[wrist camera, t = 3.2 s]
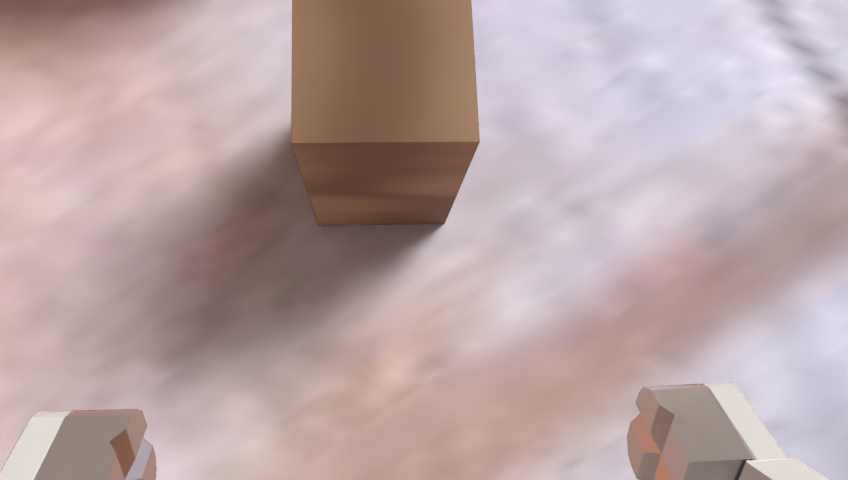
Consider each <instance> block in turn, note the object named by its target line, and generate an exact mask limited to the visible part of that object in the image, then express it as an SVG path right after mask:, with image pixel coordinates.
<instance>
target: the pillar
mask: <svg viewBox="0 0 848 480" xmlns="http://www.w3.org/2000/svg"><path fill="white" fill-rule="evenodd" d="M479 142H480V138H479V122H478V105H477V89H476V72H475V55H474V39H473V22H472V6H471V0H292V117H291V144H292V147H293V150H294V153H295V156H296V159H297V162H298V165H299V168H300V171H301V174H302V177H303V180H304V183H305V186H306V189H307V192H308V195H309V198H310V201H311V204H312V208H313V211H314V214H315V217H316V220H317V223H318V226H337V225H393V224H445V221H446V219H447V217H448V214H449V212H450V210H451V207H452V205H453V203H454V200H455V198H456V196H457V193H458V191H459V189H460V186H461V184H462V182H463V179H464V177H465V175H466V172H467V170H468V168H469V165H470V163H471V161H472V158H473V156H474V154H475V151H476V149H477V147H478V144H479Z"/></svg>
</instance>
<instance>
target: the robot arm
mask: <svg viewBox="0 0 848 480" xmlns="http://www.w3.org/2000/svg"><path fill="white" fill-rule="evenodd" d="M636 405H637V407H638V409H639V411H640V414H639V415H638V416H637V417H636V418H635V419H634V420H632V421H631V422H630V427H629V431H628V435H627V442H628V454H629V458H630V462H631V466H632V468H633V471H634V473H635V476H636V478H637V479H638V480H830V479H828V478H827V477H825V476H823V475H822V474H820V473H819V472H817V471H815V470H814V469H812V468H811V467H809V466H808V465H806V464H804V463H803V462H801V461H800V460H798V459H797V458H787V457H786V456H785V454H784V453H783V452H782V450H781V449H780V447H779V446H778V444H777V443H776V441H775V440H774V439H773V437H772V436H771V434H770V433H769V431H768V430H767V428H766V427H765V426H764V424H763V423H762V421H761V420H760V418H759V417H758V415H757V414H756V413H755V411H754V410H753V408H752V407H751V405H750V404H749V402H748V401H747V400H746V398H745V397H744V395H743V394H742V392H741V391H740V389H739V388H738V387H737V386H736V385H734V384H733V383H731V382H724V383H705V384H685V385H667V386H648V387H643V388H642V389H641V391H640V392H639V394H638V397H637V401H636ZM146 427H147V424H146V421H145V418H144V415H143V412H142V411H141V410H138V409H122V410H73V411H49V412H38V413H37V414H36V415H34V416H33V417H32V418H31V419H30V420H29V421H28V423H27V425H26V427H25V429H24V430H23V432H22V434H21V436H20V437H19V439H18V441H17V443H16V445H15V446H14V448H13V450H12V452H11V453H10V455H9V457H8V459H7V461H6V462H5V464H4V466H3V468H2V469H1V471H0V480H155V479H156V470H157V469H156V456H155V452H154V448H153V445H152V444H150V443H149V442H148V441H146V440H145V439H144V438H143V436H144V433H145V430H146Z"/></svg>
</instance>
